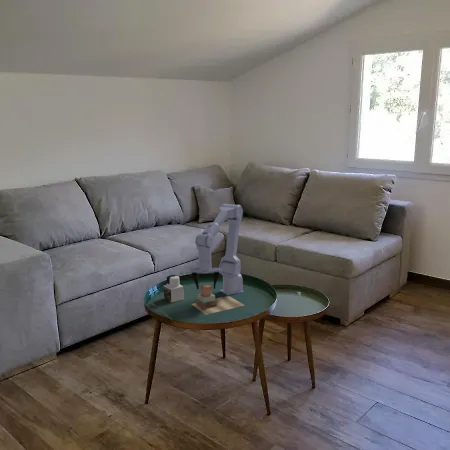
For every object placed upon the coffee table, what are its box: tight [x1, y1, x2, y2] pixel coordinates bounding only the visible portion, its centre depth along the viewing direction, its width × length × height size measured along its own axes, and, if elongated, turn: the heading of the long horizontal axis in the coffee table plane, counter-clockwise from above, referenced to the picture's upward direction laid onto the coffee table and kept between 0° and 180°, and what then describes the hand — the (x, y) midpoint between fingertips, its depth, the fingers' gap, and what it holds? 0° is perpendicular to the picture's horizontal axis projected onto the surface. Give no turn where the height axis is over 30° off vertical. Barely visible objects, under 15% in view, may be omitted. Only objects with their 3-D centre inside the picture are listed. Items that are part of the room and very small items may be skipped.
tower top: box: [197, 292, 216, 303], centre depth 225 cm, size 6×6×2 cm
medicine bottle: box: [163, 274, 185, 303], centre depth 234 cm, size 7×7×12 cm
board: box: [191, 295, 245, 316], centre depth 226 cm, size 20×15×1 cm
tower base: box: [195, 298, 217, 309], centre depth 226 cm, size 7×7×2 cm
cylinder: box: [200, 284, 212, 297], centre depth 224 cm, size 5×5×4 cm
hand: (206, 288), depth 224 cm, fingers open, 7 cm apart
